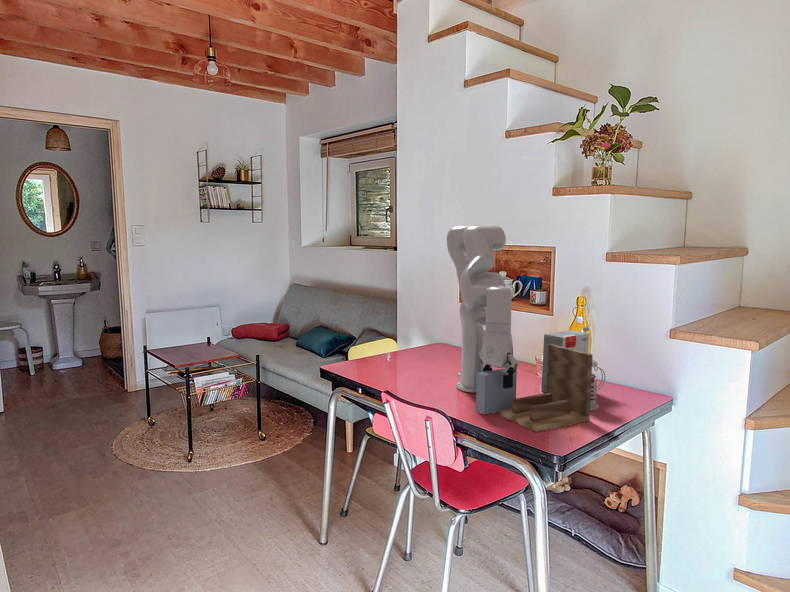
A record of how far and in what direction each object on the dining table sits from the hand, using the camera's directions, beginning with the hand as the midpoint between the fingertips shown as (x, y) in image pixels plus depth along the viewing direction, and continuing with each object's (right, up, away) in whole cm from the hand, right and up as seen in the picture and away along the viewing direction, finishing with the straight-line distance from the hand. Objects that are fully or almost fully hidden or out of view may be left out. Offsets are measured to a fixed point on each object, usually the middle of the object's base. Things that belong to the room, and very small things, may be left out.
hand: (497, 384), depth 162 cm
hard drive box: (+27, -6, +23) cm, 36 cm away
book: (0, -8, +2) cm, 8 cm away
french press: (+29, -8, +7) cm, 31 cm away
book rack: (+12, -9, -5) cm, 16 cm away
